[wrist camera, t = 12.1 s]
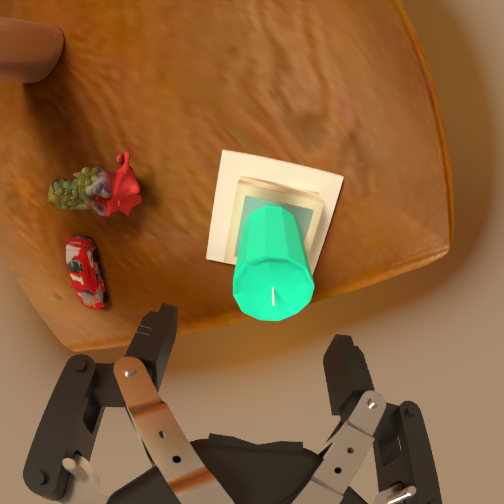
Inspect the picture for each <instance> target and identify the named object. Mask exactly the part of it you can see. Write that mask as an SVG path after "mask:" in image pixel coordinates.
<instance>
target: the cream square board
mask: <svg viewBox="0 0 504 504" xmlns="http://www.w3.org/2000/svg"><path fill="white" fill-rule="evenodd" d="M240 176H246V177H251V178H256V179H261V180H266V181H271V182H276V183H280V184H285V185H289V186H294V187H298V188H303V189H307V190H311V191H315V192H318V193H319V195H320V196H321V198H322V199H323V201H324V206H323V210H322V213H321V216H320V220H319V223H318V226H317V230H316V233H315V236H314V239H313V243H312V246H311V249H310V252H309V255H308V262H309V266H310V270H311V274H312V275H313V272H314V269H315V267H316V264H317V261H318V258H319V255H320V252H321V249H322V246H323V243H324V240H325V237H326V234H327V231H328V228H329V224H330V221H331V218H332V215H333V212H334V208H335V205H336V202H337V198H338V195H339V192H340V188H341V185H342V181H343V178H344V177H343V176H341V175H338V174H334V173H330V172H326V171H323V170H319V169H315V168H311V167H307V166H302V165H298V164H294V163H290V162H285V161H281V160H276V159H271V158H267V157H262V156H257V155H251V154H246V153H241V152H235V151H229V150H223V151H222V157H221V163H220V169H219V175H218V181H217V187H216V194H215V200H214V207H213V213H212V220H211V227H210V234H209V242H208V249H207V257H206V259H209V260H214V261H219V262H224V257H225V251H226V245H227V239H228V233H229V228H230V222H231V216H232V211H233V205H234V200H235V194H236V189H237V184H238V181H239V179H240ZM224 263H229V262H224ZM229 264H234V263H229ZM234 265H236V264H234Z"/></svg>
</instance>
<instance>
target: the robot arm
mask: <svg viewBox="0 0 504 504" xmlns="http://www.w3.org/2000/svg"><path fill="white" fill-rule="evenodd" d="M63 44H64V37H63V33H62V31H61V30H60V29H59V28H58V27H56V26H52V25H47V24H43V23H38V22H33V21H27V20H21V19H15V18H7V17H0V85H2V84H15V83H35V82H39V81H41V80H43V79H44V78H46V77H47V76H48V75H49V74H50V73H51V72H52V70H53V69H54V68H55V66H56V64H57V63H58V61H59V58H60V56H61V53H62V49H63ZM177 317H178V307H177V306H173V305H169V304H164V303H163V304H162V306H161V308H160V310H159V313H157V312H153V311H150V312H149V313H148V314H147V315H145V316H144V317H143V319H142V321H141V323H140V326H139V327H138V329H137V332H136V333H135V335H134V338H133V340H132V342H131V344H130V346H129V348H128V350H127V353H126V355H125V356H124V357H123V358H121V359H119V360H118V361H117V362H116V363H111V364H102V363H101V364H100V363H95V362H94V361H93V360H92V358H90V357H89V356H87V355H83V354H79V355H75V356H73V357H71V358H70V359H69V360H68V361H67V363H66V365H65V367H64V369H63V372H62V373H61V376H60V378H59V380H58V382H57V384H56V386H55V388H54V391H53V393H52V395H51V398H50V400H49V402H48V405H47V407H46V409H45V411H44V414H43V416H42V419H41V422H40V424H39V426H38V429H37V432H36V434H35V437H34V440H33V442H32V446H31V448H30V451H29V454H28V457H27V460H26V463H25V467H24V470H23V478H24V481H25V484H26V485H27V486H28V488H29V489H30V490H31V491H33V492H34V493H35V494H37V495H39V496H41V497H42V498H44V499H46V500H48V501H51V502H53V503H55V504H368V503H367V502H365V500H363V499H362V498H361V497H360V496H359V495H358V494H357V493H356V492H355V491H354V490H353V489H352V488H351V487H350V486H349V484H350V483H351V481H352V479H353V478H354V476H355V474H356V473H357V471H358V469H359V467H360V466H361V464H362V462H363V460H364V458H365V457H366V455H367V453H368V451H369V449H370V447H371V445H372V443H373V448H374V455H375V463H376V470H377V478H378V487H379V494H378V495H377V496H376V498H375V500H374V503H373V504H442V499H441V494H440V488H439V482H438V477H437V473H436V468H435V463H434V459H433V455H432V451H431V446H430V443H429V439H428V435H427V431H426V428H425V424H424V421H423V417H422V414H421V410H420V408H419V407H418V406H417V405H416V404H415V403H414V402H412V401H404V402H403V403H402V404H401V405H400V406H397V405H393V404H390V403H387V402H386V401H385V399H384V397H383V396H382V395H381V394H380V393H378V392H376V391H375V390H374V387H373V383H372V380H371V376H370V374H369V370H368V369H367V364H366V363H365V362H366V361H365V358H364V355H363V353H362V351H361V350H360V349H359V348H358V346H354V344H353V341H352V338H351V336H348V335H339V334H337V335H335V337H334V338H333V340H332V342H331V344H330V346H329V347H328V349H327V351H326V353H325V355H324V359H323V365H324V371H325V376H326V382H327V387H328V392H329V399H330V405H331V411H332V415H340V417H341V419H340V421H339V422H338V423H337V425H336V426H335V428H334V429H333V431H332V432H331V434H330V435H329V437H328V438H327V439H326V441H325V442H324V443H323V445H322V446H321V447H320V449H319V450H318V451H317V452H316V453H314V452H312V451H311V450H308V449H305V448H303V442H287V441H279V442H273V443H267V444H260V445H256V444H253V443H250V442H247V441H244V440H241V439H238V438H235V437H230V436H223V435H217V434H211V433H210V435H209V438H208V439H199V440H195V441H191V442H189V441H188V439H187V438H186V436H185V435H184V433H183V431H182V430H181V428H180V426H179V425H178V423H177V421H176V419H175V418H174V416H173V414H172V412H171V411H170V409H169V407H168V405H167V404H166V403H165V402H163V401H162V400H161V398H160V396H159V394H158V393H157V392H159V388H160V385H161V382H162V378H163V375H164V372H165V369H166V365H167V363H168V359H169V356H170V353H171V350H172V347H173V344H174V341H175V337H176V332H177ZM105 407H124V408H125V410H126V412H127V415H128V417H129V419H130V421H131V424H132V426H133V428H134V430H135V432H136V435H137V437H138V439H139V441H140V443H141V446H142V448H143V450H144V452H145V454H146V456H147V458H148V459H149V461H150V463H151V465H152V468H151V469H149V470H148V471H146V472H145V473H144V474H142V475H140V476H139V477H137V478H136V479H134V480H133V481H131V482H129V483H128V484H126V485H125V486H123V487H122V488H120V489H118V490H117V491H115V492H114V493H113V494H112V495H111V496H110V497H107V496H106V495H105V494H104V493H103V492H102V490H101V487H100V476H99V473H98V471H97V470H96V469H95V468H94V467H93V466H92V465H91V464H90V463H89V461H90V457H91V453H92V450H93V446H94V442H95V438H96V436H97V432H98V429H99V425H100V422H101V419H102V416H103V412H104V409H105ZM398 438H399V440H398ZM399 441H400V445H401V450H400V445H399Z"/></svg>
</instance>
